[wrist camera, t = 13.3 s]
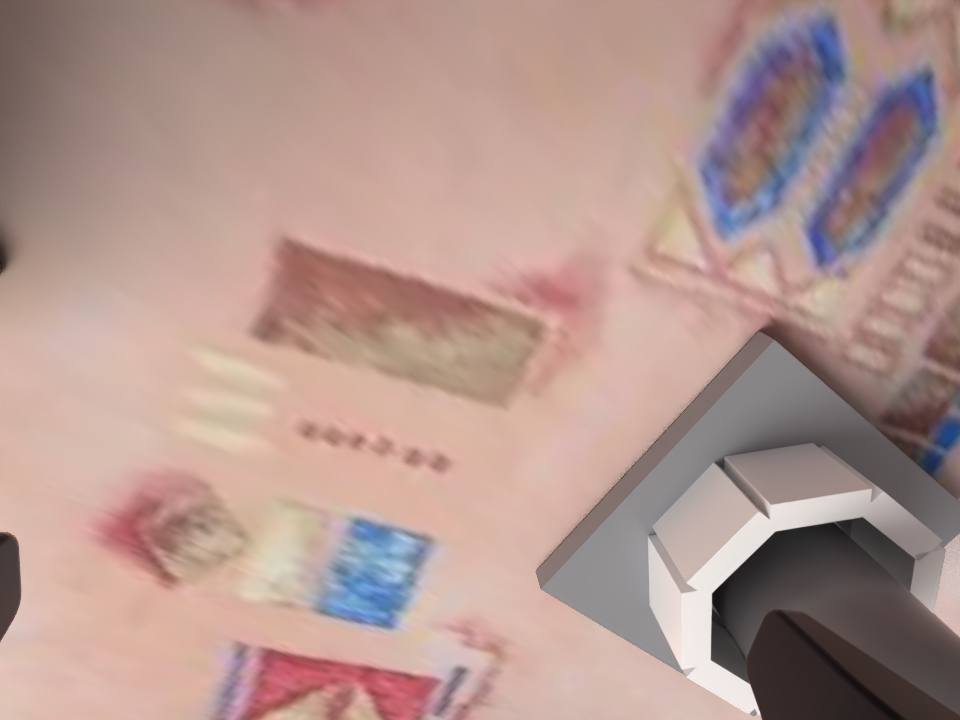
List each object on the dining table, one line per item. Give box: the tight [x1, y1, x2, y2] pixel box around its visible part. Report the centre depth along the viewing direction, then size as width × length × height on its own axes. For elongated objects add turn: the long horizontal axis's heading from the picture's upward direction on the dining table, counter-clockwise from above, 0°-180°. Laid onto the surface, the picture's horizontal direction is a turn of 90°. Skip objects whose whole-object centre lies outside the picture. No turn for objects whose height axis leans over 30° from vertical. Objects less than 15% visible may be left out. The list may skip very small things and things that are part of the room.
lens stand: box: [536, 331, 960, 716], centre depth 22 cm, size 12×12×4 cm
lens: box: [712, 522, 960, 715], centre depth 17 cm, size 5×5×12 cm
